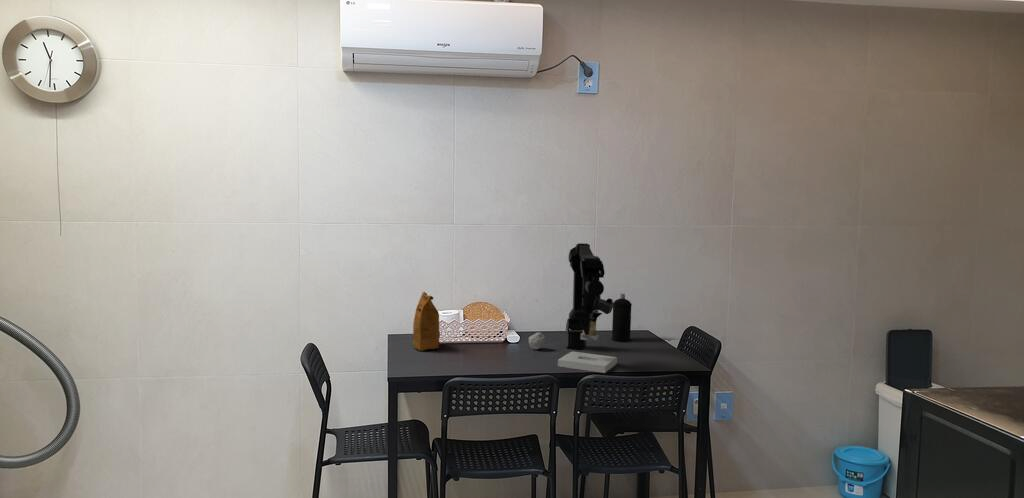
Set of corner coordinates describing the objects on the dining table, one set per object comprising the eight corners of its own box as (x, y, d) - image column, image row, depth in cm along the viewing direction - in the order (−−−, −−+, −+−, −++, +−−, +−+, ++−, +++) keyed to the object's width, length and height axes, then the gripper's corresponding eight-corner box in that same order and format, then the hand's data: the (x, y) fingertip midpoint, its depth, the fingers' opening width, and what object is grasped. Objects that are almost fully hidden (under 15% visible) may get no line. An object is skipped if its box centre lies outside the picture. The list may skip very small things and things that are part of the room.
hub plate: (557, 366, 263) (558, 359, 263) (571, 357, 275) (571, 351, 275) (604, 372, 255) (605, 366, 255) (616, 363, 268) (616, 357, 267)
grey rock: (542, 352, 283) (542, 334, 282) (525, 350, 285) (525, 333, 285) (546, 348, 289) (547, 331, 288) (530, 347, 291) (530, 330, 290)
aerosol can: (618, 343, 300) (620, 296, 298) (607, 338, 308) (608, 292, 306) (634, 341, 304) (636, 294, 302) (623, 337, 312) (624, 291, 309)
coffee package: (434, 343, 295) (434, 290, 292) (441, 350, 283) (441, 295, 281) (410, 344, 292) (410, 291, 289) (416, 352, 280) (416, 296, 277)
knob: (599, 339, 265) (599, 322, 264) (594, 341, 261) (595, 324, 260) (583, 337, 268) (584, 320, 267) (579, 339, 263) (579, 322, 263)
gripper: (603, 297, 250) (602, 341, 252) (619, 290, 267) (617, 331, 269) (573, 294, 255) (572, 337, 257) (590, 287, 272) (589, 327, 274)
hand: (589, 333), depth 264 cm, fingers closed on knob, 5 cm apart
